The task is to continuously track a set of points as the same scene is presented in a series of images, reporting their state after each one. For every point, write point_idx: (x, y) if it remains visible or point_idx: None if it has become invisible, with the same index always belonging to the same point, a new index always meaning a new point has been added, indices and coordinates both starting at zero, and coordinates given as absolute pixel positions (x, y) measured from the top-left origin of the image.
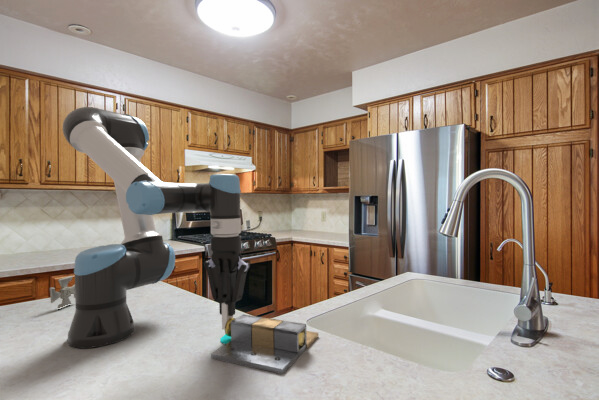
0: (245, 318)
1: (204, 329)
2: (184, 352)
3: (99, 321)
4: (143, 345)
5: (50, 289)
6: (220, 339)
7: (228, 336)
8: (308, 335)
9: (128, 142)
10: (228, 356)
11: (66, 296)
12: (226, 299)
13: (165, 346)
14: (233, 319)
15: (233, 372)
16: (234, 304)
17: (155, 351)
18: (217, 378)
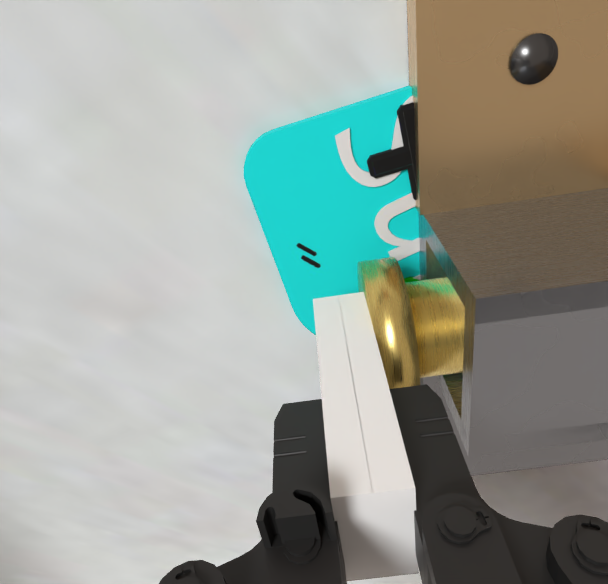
0: (567, 364)
1: (28, 251)
2: (252, 482)
3: None
4: (8, 525)
5: None
6: (312, 331)
7: (324, 274)
8: None
9: None
10: (529, 463)
11: None
12: (339, 545)
13: (107, 489)
14: (416, 370)
15: (593, 484)
16: (470, 486)
17: (126, 527)
18: (551, 527)
